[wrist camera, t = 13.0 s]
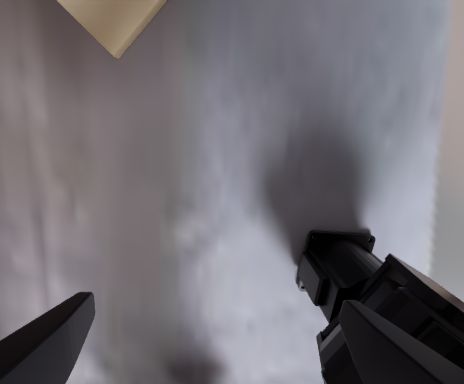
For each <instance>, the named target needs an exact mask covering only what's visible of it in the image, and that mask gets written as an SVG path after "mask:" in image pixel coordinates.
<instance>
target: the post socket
mask: <svg viewBox="0 0 464 384" xmlns="http://www.w3.org/2000/svg"><path fill="white" fill-rule="evenodd" d="M57 1H58V2H59V3H60V4H61V5H62V6H63V7H64V8H65V9H66V10H67V11H68V12H69V13H70V14H71V15H72V16H73V17H74V18H75V19H76V20H77V21H78V22H79V23H80V24H81V25H82V26H83V27H84V28H85V29H86V30H87V31H88V32H89V33H90V34H91V35H92V36H93V37H94V38H95V39H96V40H97V41H98V42H99V43H100V44H101V45H102V46H103V47H105V48H106V49H107V50H108V51H109V52H110V53H111V54H112V55H113V56H114V57H116V58H117V59H119V58H120V57H121V56H122V54H123V53H124V52H125V51H126V50H127V48H128V47H129V46H130V45H131V44H132V42H133V41H134V40H135V39H136V38H137V36H138V35H139V34H140V33H141V32H142V30H143V29H144V28H145V27H146V26H147V24H148V23H149V22H150V21H151V20H152V18H153V17H154V16H155V15H156V14H157V12H158V11H159V10H160V9H161V8H162V6H163V5H164V4H165V3H166V2H167V0H57Z"/></svg>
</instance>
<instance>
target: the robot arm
mask: <svg viewBox="0 0 464 384" xmlns="http://www.w3.org/2000/svg"><path fill="white" fill-rule="evenodd" d="M313 235H316V236H315V237H314V238H312V236H313ZM369 238H370V240H369V241H368V239H369ZM374 243H375V237H374V236H372V235H371V234H363V233H347V232H330V231H311V232H309V234H308V237H307V242H306V247H305V251H304V252H303V253H302V257H301V262H300V266H299V271H298V276H299V280H298V288H299V290H300V291H307V293H308V295H309V297H310V298H311V300H312V302H313V304H314V305H315V306H319V307H320V308H321V310H322V312H323V314H324V315H325V317H326V319H327V321H328V323H329V325H328V326H327V327H326V328H325V329H324V330H323V332H320V333H319V334H318V335H317V336H316V338H317V344H318V350H319V356H320V362H321V368H322V371H321V373H322V378H323V380H324V383H325V384H464V302H462V301H461V300H460V299H458V298H457V297H455V296H454V295H453V294H451V293H450V292H448V291H447V290H446V289H444V288H443V287H442V286H440V285H439V284H437V283H436V282H435V281H433V280H432V279H430V278H429V277H427V276H425V275H424V274H422V273H421V272H419V271H417V270H416V269H414V268H413V267H411V266H409V265H408V264H406V263H405V262H403V261H401V260H400V259H398V258H397V257H395V256H393V255H392V254H390V253H389V255H388V256H387V257H386V258H385V262H384V263H383V262H382V261H381V260H380V259H378V258H377V257H376V256H375V255H374V254H373V253H372V250H373V246H374ZM302 285H304V286H302ZM94 316H95V303H94V294H93V293H92V292H79V293H77V294H75V295H74V296H72V297H70V298H69V299H67V300H65V301H64V302H62V303H61V304H59V305H57V306H56V307H54V308H52V309H51V310H49V311H48V312H46V313H44V314H43V315H41V316H39V317H38V318H36V319H35V320H33V321H31V322H30V323H28V324H26V325H25V326H23V327H22V328H20V329H18V330H17V331H15V332H13V333H12V334H10V335H9V336H7V337H5V338H4V339H2V340H0V384H65V383H66V381H67V380H68V378H69V376H70V374H71V372H72V370H73V368H74V365H75V363H76V361H77V359H78V356H79V354H80V351H81V349H82V346H83V344H84V342H85V339H86V337H87V334H88V332H89V329H90V327H91V325H92V322H93V320H94Z"/></svg>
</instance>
